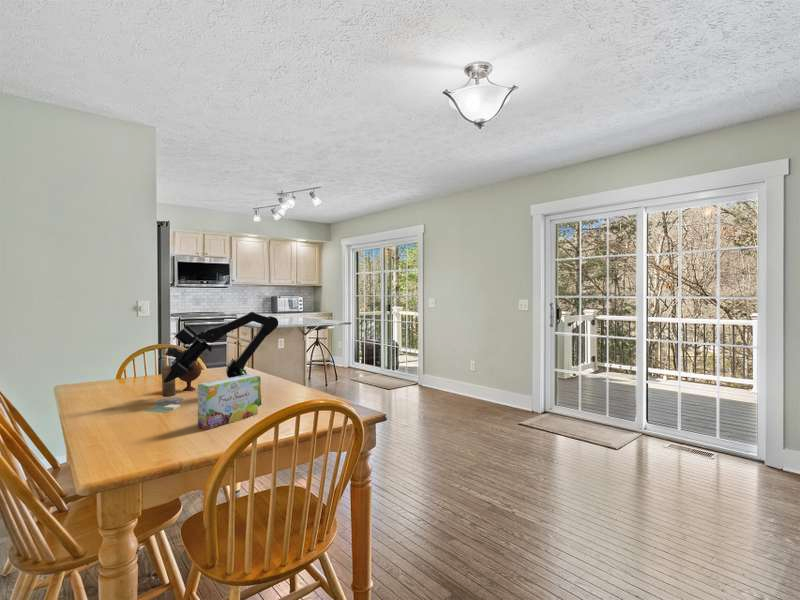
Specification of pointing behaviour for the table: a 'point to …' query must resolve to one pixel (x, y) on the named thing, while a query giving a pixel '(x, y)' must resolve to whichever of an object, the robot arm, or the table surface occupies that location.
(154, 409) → the mat
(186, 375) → the ice cream bowl
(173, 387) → the pepper mill
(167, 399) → the trivet
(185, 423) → the table surface
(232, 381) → the snack box
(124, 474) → the table surface
